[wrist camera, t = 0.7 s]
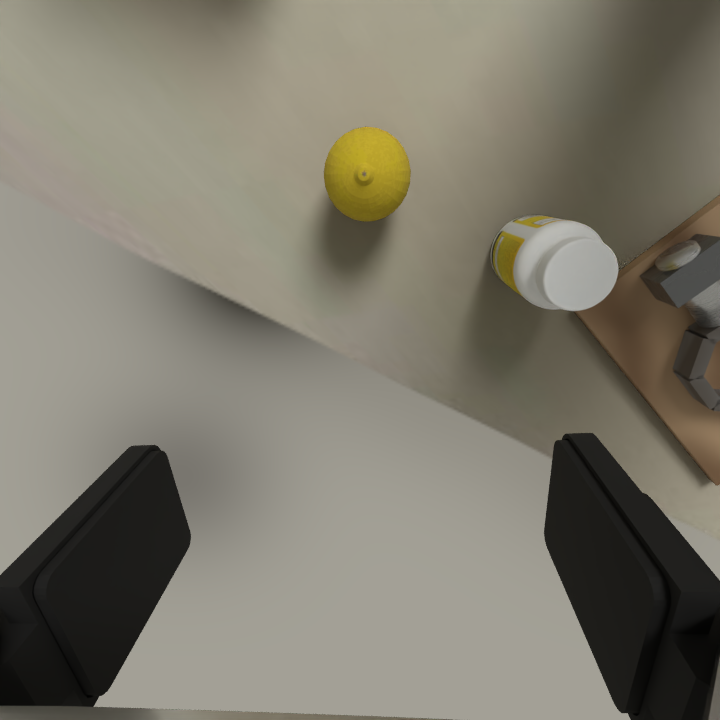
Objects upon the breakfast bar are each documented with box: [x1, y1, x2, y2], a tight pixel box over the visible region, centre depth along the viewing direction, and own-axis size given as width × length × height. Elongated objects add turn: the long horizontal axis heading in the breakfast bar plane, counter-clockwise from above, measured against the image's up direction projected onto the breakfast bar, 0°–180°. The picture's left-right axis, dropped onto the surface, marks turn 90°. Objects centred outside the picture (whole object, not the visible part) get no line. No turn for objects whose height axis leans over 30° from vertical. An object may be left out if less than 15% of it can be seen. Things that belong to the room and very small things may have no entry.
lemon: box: [324, 127, 411, 222], centre depth 27 cm, size 6×6×8 cm
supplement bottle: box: [491, 215, 618, 311], centre depth 27 cm, size 5×5×10 cm
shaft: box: [639, 234, 720, 328], centre depth 30 cm, size 6×4×4 cm
